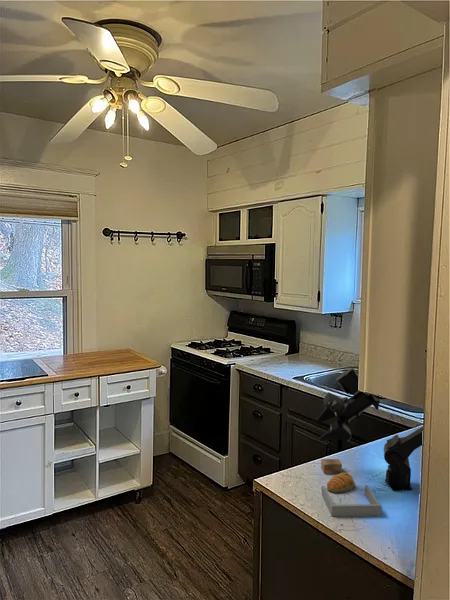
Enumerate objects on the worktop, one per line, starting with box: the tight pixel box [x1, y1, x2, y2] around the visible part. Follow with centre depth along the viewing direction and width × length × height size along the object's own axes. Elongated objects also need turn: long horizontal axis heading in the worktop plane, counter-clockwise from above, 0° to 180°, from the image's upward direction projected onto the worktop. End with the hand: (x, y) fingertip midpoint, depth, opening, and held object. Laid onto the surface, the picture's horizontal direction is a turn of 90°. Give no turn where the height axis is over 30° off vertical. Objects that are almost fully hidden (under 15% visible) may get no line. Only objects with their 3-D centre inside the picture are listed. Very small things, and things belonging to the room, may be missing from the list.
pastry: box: [326, 472, 356, 494], centre depth 146 cm, size 9×7×4 cm
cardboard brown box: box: [320, 458, 343, 475], centre depth 157 cm, size 6×4×4 cm, turn 92°
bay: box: [321, 484, 382, 517], centre depth 136 cm, size 14×11×3 cm
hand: (318, 430), depth 154 cm, fingers open, 9 cm apart
